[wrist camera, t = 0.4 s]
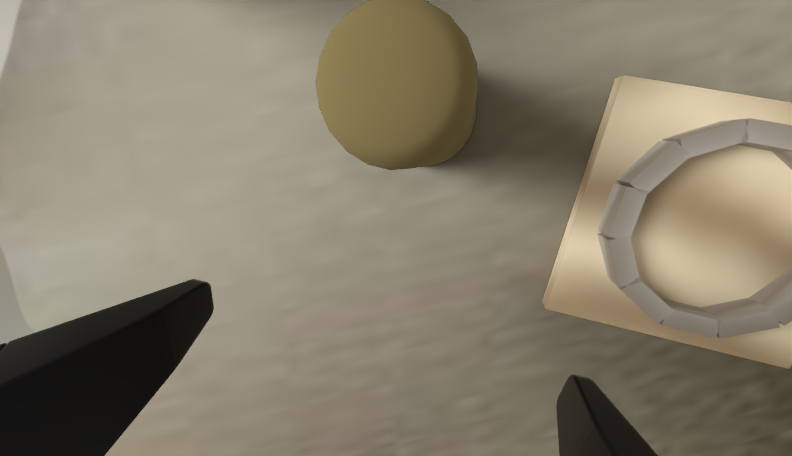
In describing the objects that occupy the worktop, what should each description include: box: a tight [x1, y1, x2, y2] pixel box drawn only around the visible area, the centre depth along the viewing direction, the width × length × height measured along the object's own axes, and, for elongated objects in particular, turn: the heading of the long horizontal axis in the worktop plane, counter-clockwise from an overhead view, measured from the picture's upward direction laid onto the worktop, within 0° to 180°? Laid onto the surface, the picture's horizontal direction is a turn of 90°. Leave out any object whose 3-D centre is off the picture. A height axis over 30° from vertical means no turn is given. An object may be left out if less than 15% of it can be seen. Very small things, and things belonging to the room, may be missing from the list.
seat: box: [542, 75, 792, 369], centre depth 18 cm, size 13×13×2 cm
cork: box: [316, 0, 478, 170], centre depth 15 cm, size 6×6×11 cm
